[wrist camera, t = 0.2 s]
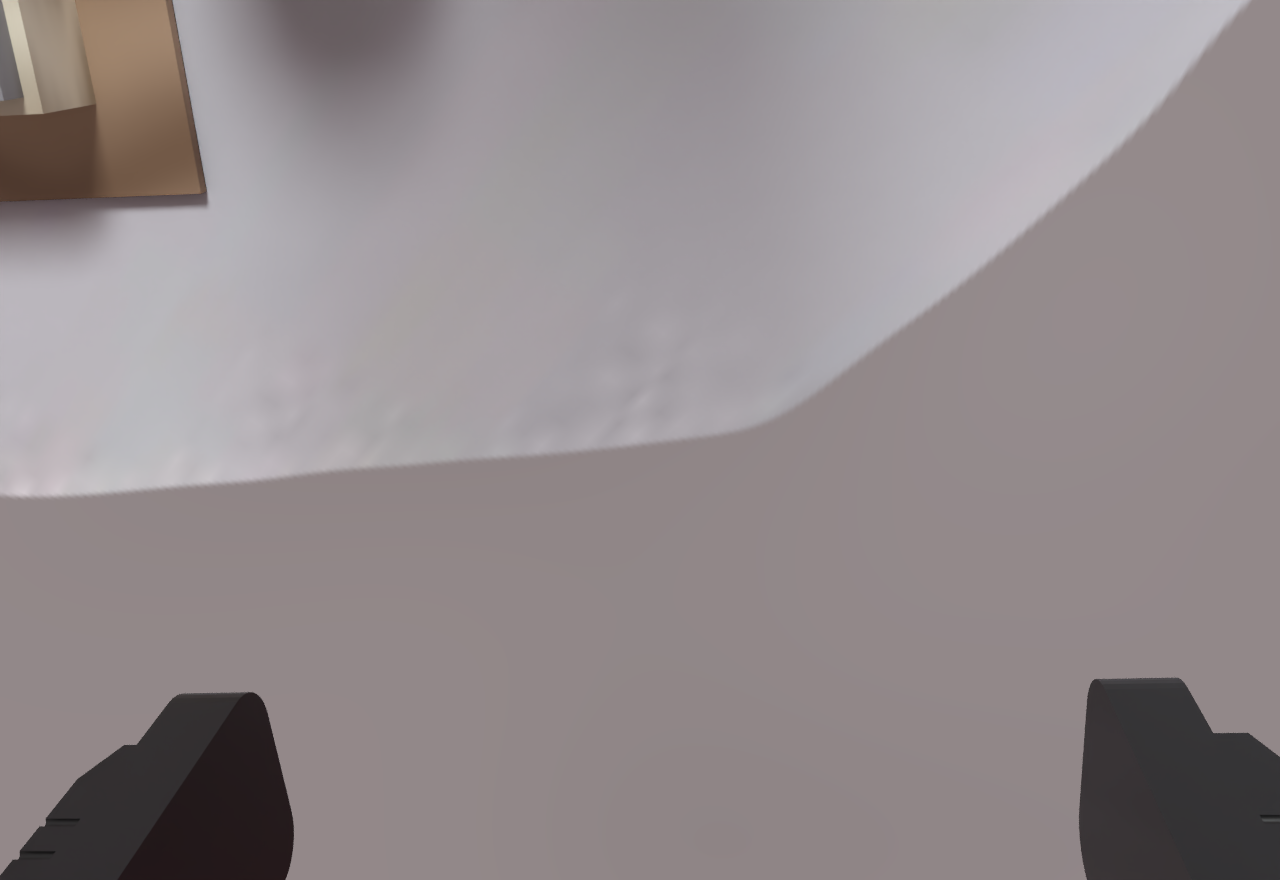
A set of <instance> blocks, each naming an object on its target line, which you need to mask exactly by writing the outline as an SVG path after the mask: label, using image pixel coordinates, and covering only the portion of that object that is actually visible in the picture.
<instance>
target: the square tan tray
mask: <svg viewBox="0 0 1280 880" xmlns="http://www.w3.org/2000/svg"><path fill="white" fill-rule="evenodd" d="M204 192H207V191H206V186H205V180H204V175H203V169H202V164H201V158H200V153H199V147H198V142H197V137H196V131H195V126H194V120H193V115H192V109H191V104H190V98H189V93H188V87H187V82H186V76H185V71H184V65H183V60H182V54H181V49H180V43H179V38H178V32H177V27H176V21H175V16H174V10H173V5H172V0H0V202H1V201H26V200H52V199H77V198H103V197H128V196H154V195H179V194H202V193H204Z"/></svg>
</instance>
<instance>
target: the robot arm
mask: <svg viewBox="0 0 1280 880" xmlns="http://www.w3.org/2000/svg"><path fill="white" fill-rule="evenodd" d="M1079 830H1080V843H1081V851H1082V858H1083V864H1084V869H1085V873H1086V877H1087V880H1280V757H1279V756H1278V755H1276V754H1275V753H1274V752H1272V751H1271V750H1270V749H1268V748H1267V747H1266V746H1265V745H1263V744H1262V743H1261V742H1259V741H1258V740H1257V739H1255V738H1254V737H1253V736H1252V735H1250V734H1249V733H1213V732H1212V731H1211V728H1210V727H1209V725H1208V723H1207V721H1206V720H1205V718H1204V716H1203V714H1202V713H1201V711H1200V709H1199V707H1198V705H1197V704H1196V702H1195V700H1194V698H1193V697H1192V695H1191V693H1190V691H1189V690H1188V688H1187V686H1186V685H1185V683H1184V682H1183V681H1182V680H1181V679H1179V678H1143V679H1142V678H1138V679H1095V680H1093V681H1092V683H1091V685H1090V688H1089V692H1088V699H1087V710H1086V724H1085V738H1084V752H1083V766H1082V780H1081V794H1080V808H1079ZM293 840H294V825H293V817H292V812H291V808H290V804H289V799H288V795H287V791H286V787H285V783H284V779H283V775H282V771H281V766H280V762H279V758H278V754H277V750H276V746H275V742H274V738H273V734H272V729H271V725H270V722H269V717H268V713H267V710H266V707H265V705H264V702H263V701H262V699H261V698H260V697H259V696H258V695H257V694H255V693H252V692H248V693H193V694H192V693H191V694H179V695H177V696H176V697H174V698H173V699H172V700H171V701H170V702H169V703H168V705H167V706H166V707H165V709H164V710H163V711H162V712H161V714H160V715H159V716H158V718H157V719H156V720H155V722H154V723H153V724H152V726H151V727H150V728H149V729H148V731H147V732H146V733H145V735H144V736H143V737H142V739H141V740H140V741H139V743H138V744H137V745H124V746H122V747H121V748H120V749H118V750H117V751H115V752H114V753H113V754H112V755H110V756H109V757H108V758H106V759H104V760H103V761H102V762H100V763H99V764H98V765H96V766H95V767H94V768H92V769H91V770H89V771H88V772H87V773H85V774H84V775H83V776H81V777H80V778H78V779H77V780H76V782H75V783H74V784H73V785H72V787H71V788H70V789H69V791H68V792H67V793H66V794H65V795H64V797H63V798H62V799H61V800H60V802H59V803H58V804H57V805H56V807H55V808H54V809H53V810H52V812H51V813H50V814H49V815H48V817H47V818H46V825H45V827H39V828H38V829H37V830H36V832H35V833H34V834H33V835H32V837H31V838H30V839H29V840H28V842H27V843H26V844H25V845H24V847H23V848H22V849H21V850H20V857H19V859H18V860H12V862H11V863H10V864H9V865H8V867H7V868H6V869H5V870H4V872H3V873H2V874H1V875H0V880H285V879H286V877H287V874H288V871H289V867H290V863H291V857H292V851H293Z"/></svg>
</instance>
